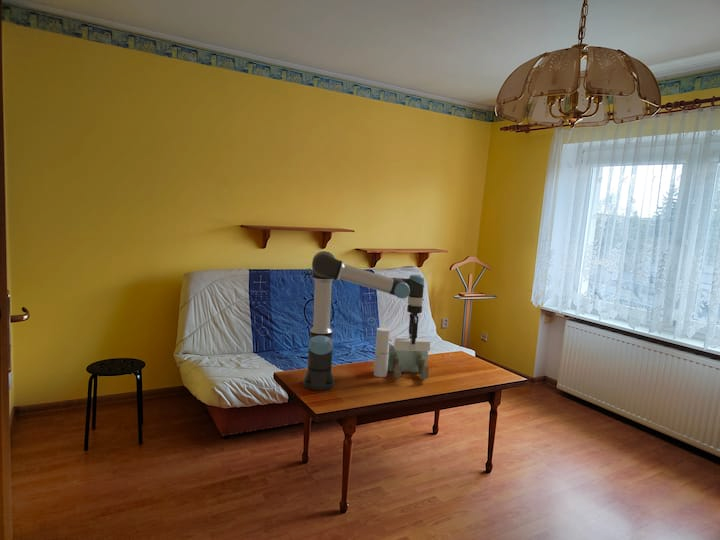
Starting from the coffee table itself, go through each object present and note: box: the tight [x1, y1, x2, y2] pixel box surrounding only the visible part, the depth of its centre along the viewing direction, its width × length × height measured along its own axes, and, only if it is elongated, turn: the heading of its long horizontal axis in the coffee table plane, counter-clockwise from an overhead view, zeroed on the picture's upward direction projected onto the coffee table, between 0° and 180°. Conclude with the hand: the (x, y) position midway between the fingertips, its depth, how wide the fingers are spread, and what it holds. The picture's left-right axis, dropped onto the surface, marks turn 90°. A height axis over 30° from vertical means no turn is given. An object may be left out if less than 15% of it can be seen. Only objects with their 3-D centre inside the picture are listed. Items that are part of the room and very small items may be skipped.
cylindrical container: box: [373, 327, 391, 378], centre depth 247 cm, size 7×7×25 cm
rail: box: [393, 337, 431, 352], centre depth 243 cm, size 18×5×5 cm, turn 95°
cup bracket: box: [387, 345, 430, 381], centre depth 247 cm, size 22×19×14 cm
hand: (411, 348), depth 243 cm, fingers closed on rail, 5 cm apart
